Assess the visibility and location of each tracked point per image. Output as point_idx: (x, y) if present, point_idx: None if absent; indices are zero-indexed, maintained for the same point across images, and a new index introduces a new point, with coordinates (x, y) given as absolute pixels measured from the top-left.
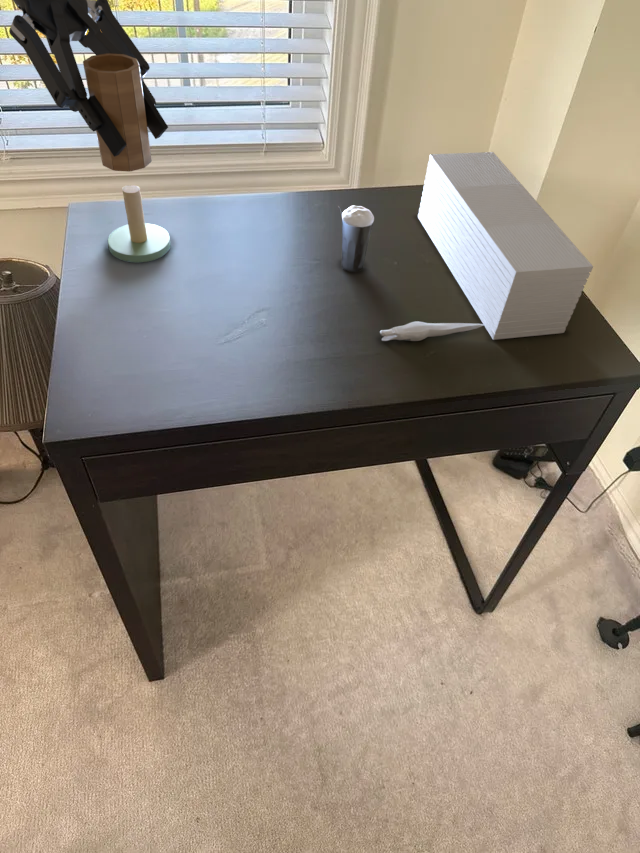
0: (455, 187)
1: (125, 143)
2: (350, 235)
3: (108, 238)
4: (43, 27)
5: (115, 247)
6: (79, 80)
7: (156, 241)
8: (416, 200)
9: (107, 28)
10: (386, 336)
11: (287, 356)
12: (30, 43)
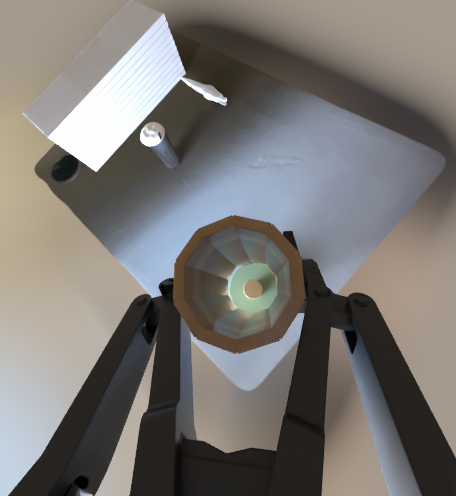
0: (86, 94)
1: (284, 232)
2: (168, 138)
3: None
4: None
5: None
6: (312, 313)
7: (248, 275)
8: (76, 186)
9: (103, 433)
10: (222, 103)
11: (277, 126)
12: None
